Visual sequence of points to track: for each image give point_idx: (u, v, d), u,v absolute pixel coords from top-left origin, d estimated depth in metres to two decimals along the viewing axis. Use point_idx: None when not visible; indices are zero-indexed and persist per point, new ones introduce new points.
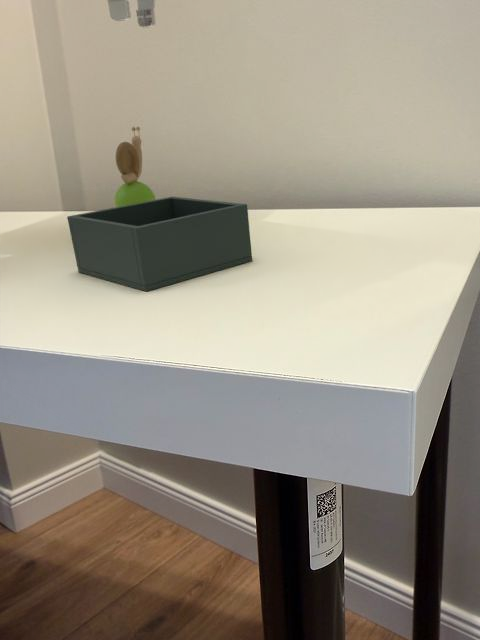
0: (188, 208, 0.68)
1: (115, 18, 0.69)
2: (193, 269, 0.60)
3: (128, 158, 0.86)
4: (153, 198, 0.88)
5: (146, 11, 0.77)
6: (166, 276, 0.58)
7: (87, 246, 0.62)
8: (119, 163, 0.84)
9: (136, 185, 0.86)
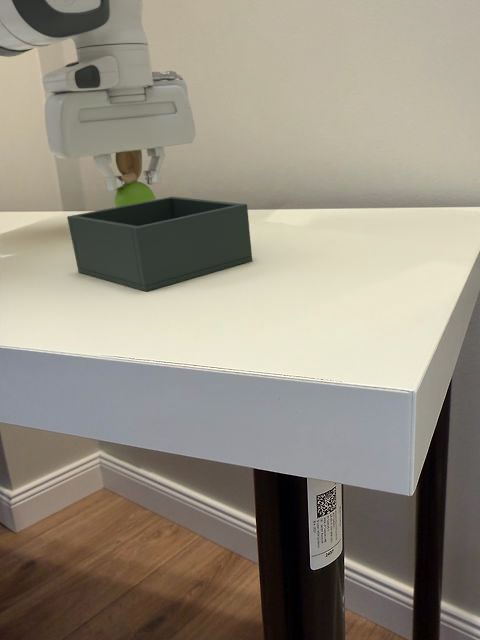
0: (188, 208, 0.68)
1: (109, 189, 0.86)
2: (193, 269, 0.60)
3: (128, 158, 0.86)
4: (153, 198, 0.88)
5: (148, 172, 0.89)
6: (166, 276, 0.58)
7: (87, 246, 0.62)
8: (119, 163, 0.84)
9: (136, 185, 0.86)
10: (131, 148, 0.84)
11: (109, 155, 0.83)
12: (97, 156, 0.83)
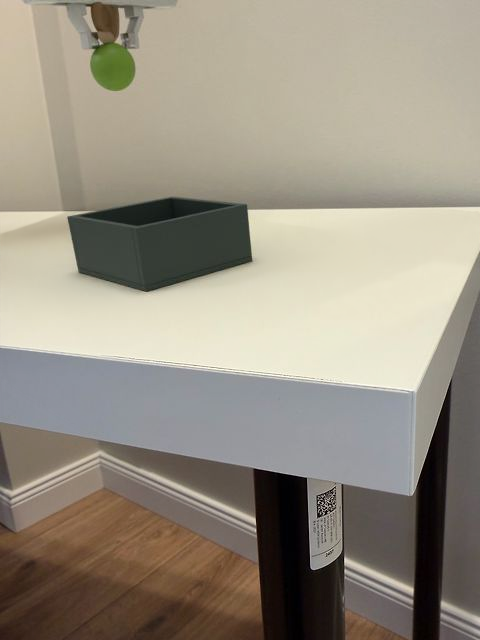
0: (188, 208, 0.68)
1: (84, 48, 0.79)
2: (193, 269, 0.60)
3: (104, 14, 0.78)
4: (132, 61, 0.80)
5: (125, 34, 0.81)
6: (166, 276, 0.58)
7: (87, 246, 0.62)
8: (95, 17, 0.77)
9: (113, 45, 0.79)
10: (107, 0, 0.77)
11: (84, 5, 0.76)
12: (70, 6, 0.76)
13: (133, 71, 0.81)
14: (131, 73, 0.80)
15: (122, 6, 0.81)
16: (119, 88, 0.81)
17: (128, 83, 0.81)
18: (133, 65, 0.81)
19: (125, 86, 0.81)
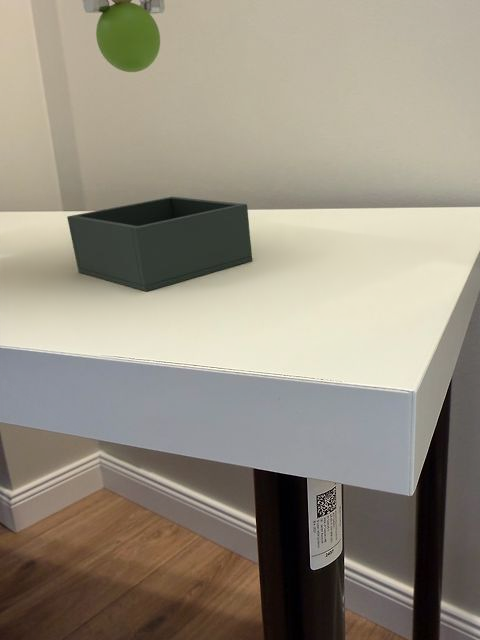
0: (188, 208, 0.68)
1: (87, 10, 0.55)
2: (193, 269, 0.60)
3: None
4: (156, 29, 0.56)
5: None
6: (166, 276, 0.58)
7: (87, 246, 0.62)
8: None
9: (129, 6, 0.55)
10: None
11: None
12: None
13: (157, 43, 0.57)
14: (155, 45, 0.57)
15: None
16: (138, 68, 0.57)
17: (150, 60, 0.57)
18: (157, 34, 0.57)
19: (146, 65, 0.58)
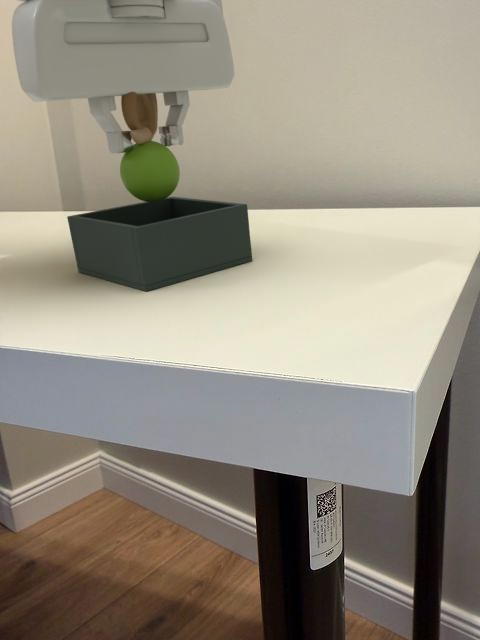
0: (188, 208, 0.68)
1: (112, 151, 0.59)
2: (193, 269, 0.60)
3: (139, 106, 0.58)
4: (176, 165, 0.60)
5: (166, 128, 0.61)
6: (166, 276, 0.58)
7: (87, 246, 0.62)
8: (127, 112, 0.57)
9: (151, 147, 0.59)
10: (143, 89, 0.57)
11: (112, 98, 0.56)
12: (94, 100, 0.56)
13: (177, 177, 0.61)
14: (175, 180, 0.60)
15: None
16: (159, 199, 0.61)
17: (170, 193, 0.61)
18: (177, 170, 0.60)
19: (166, 196, 0.61)
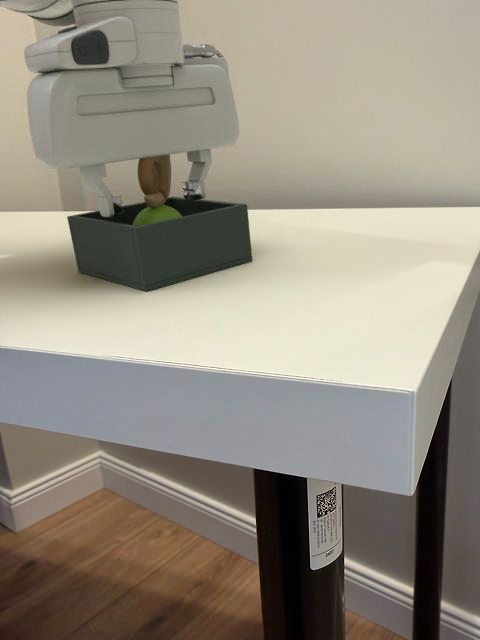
0: (188, 208, 0.68)
1: (103, 215, 0.60)
2: (193, 269, 0.60)
3: (154, 173, 0.61)
4: None
5: (189, 184, 0.64)
6: (166, 276, 0.58)
7: (87, 246, 0.62)
8: (143, 179, 0.59)
9: (164, 211, 0.61)
10: (152, 153, 0.59)
11: (102, 166, 0.57)
12: (85, 167, 0.57)
13: None
14: None
15: None
16: None
17: None
18: None
19: None
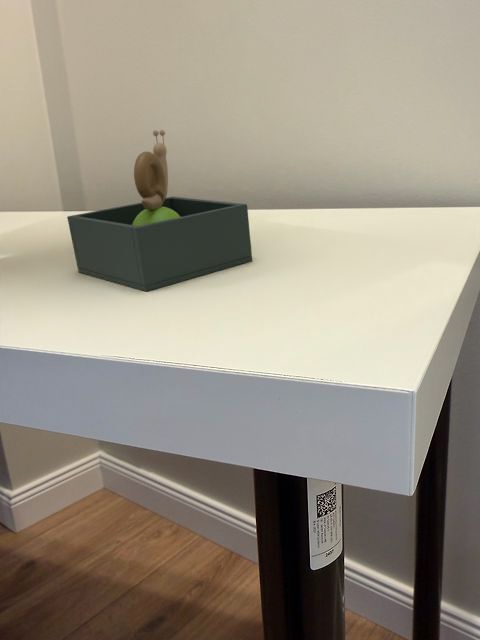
0: (188, 208, 0.68)
1: None
2: (193, 269, 0.60)
3: (151, 174, 0.61)
4: None
5: None
6: (166, 276, 0.58)
7: (87, 246, 0.62)
8: (139, 182, 0.59)
9: (162, 213, 0.61)
10: None
11: None
12: None
13: None
14: None
15: None
16: None
17: None
18: None
19: None
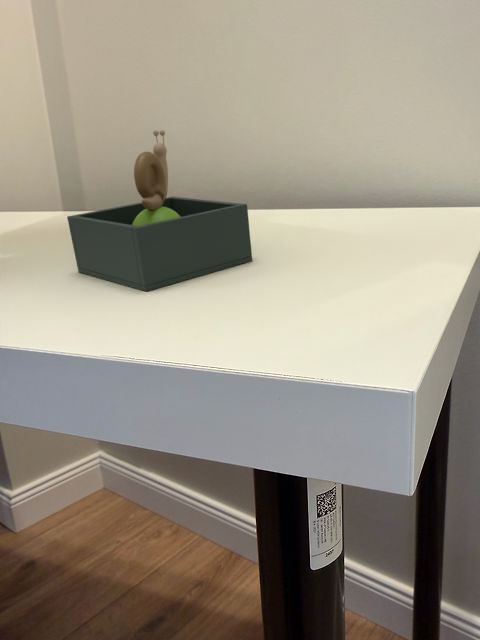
0: (188, 208, 0.68)
1: None
2: (193, 269, 0.60)
3: (151, 174, 0.61)
4: None
5: None
6: (166, 276, 0.58)
7: (87, 246, 0.62)
8: (139, 182, 0.59)
9: (162, 213, 0.61)
10: None
11: None
12: None
13: None
14: None
15: None
16: None
17: None
18: None
19: None
